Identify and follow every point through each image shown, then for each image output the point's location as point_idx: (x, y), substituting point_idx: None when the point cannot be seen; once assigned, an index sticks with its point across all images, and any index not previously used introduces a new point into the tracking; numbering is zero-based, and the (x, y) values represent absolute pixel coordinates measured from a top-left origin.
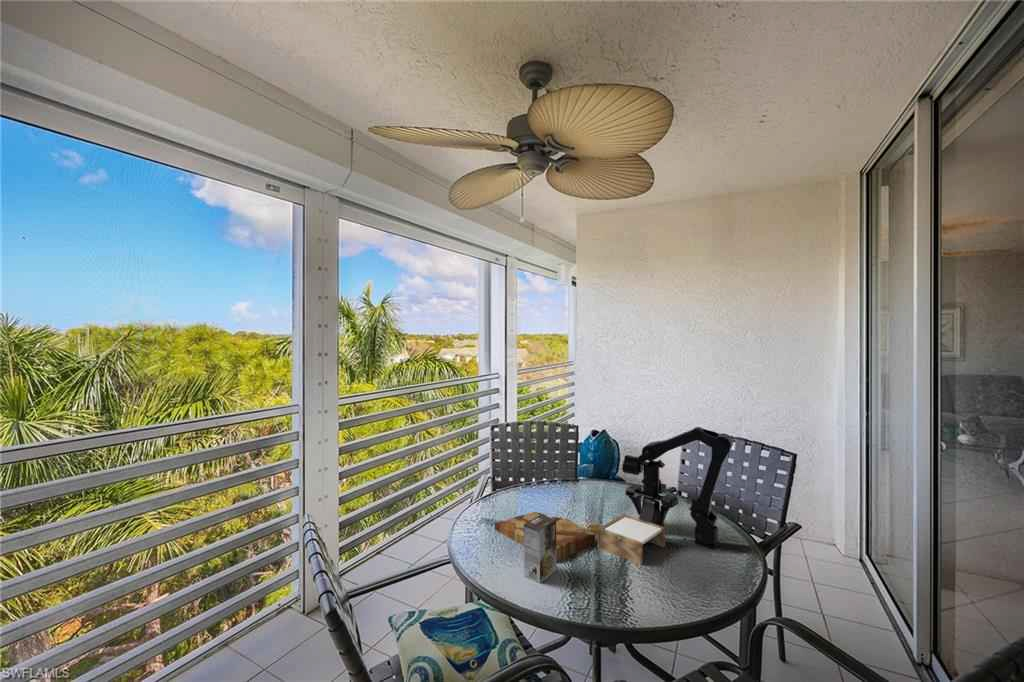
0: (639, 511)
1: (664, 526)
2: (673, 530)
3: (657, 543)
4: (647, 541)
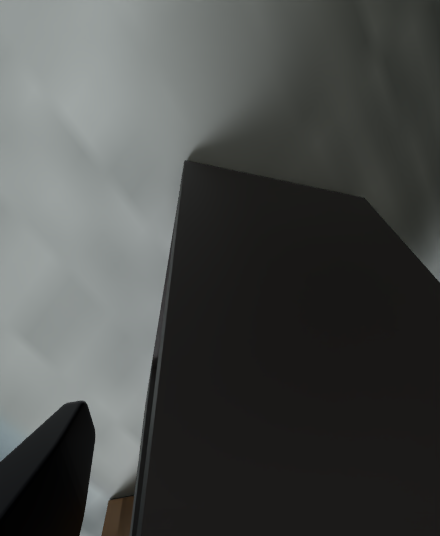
0: (77, 507)
1: (381, 223)
2: (417, 115)
3: None
4: None
